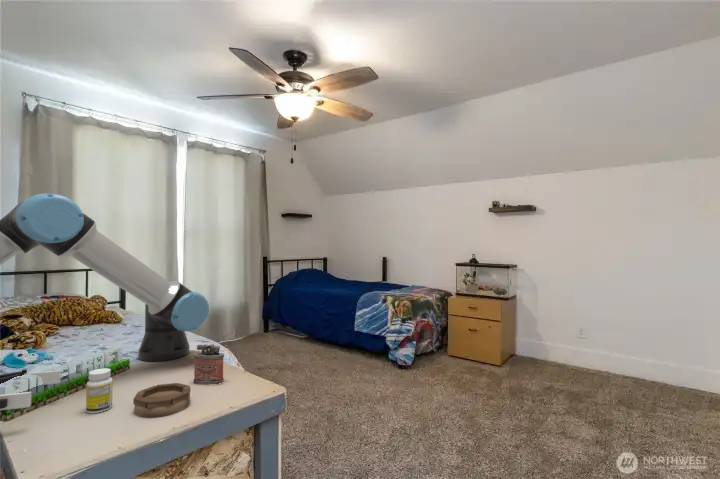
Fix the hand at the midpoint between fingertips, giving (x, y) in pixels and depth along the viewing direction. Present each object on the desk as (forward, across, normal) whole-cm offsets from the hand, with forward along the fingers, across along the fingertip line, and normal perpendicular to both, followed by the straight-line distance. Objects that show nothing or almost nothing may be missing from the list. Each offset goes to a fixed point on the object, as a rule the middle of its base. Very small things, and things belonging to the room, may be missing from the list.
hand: (46, 387), depth 79 cm
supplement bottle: (+10, 0, -6) cm, 11 cm away
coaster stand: (+23, +3, -6) cm, 24 cm away
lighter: (+32, -10, -6) cm, 34 cm away
